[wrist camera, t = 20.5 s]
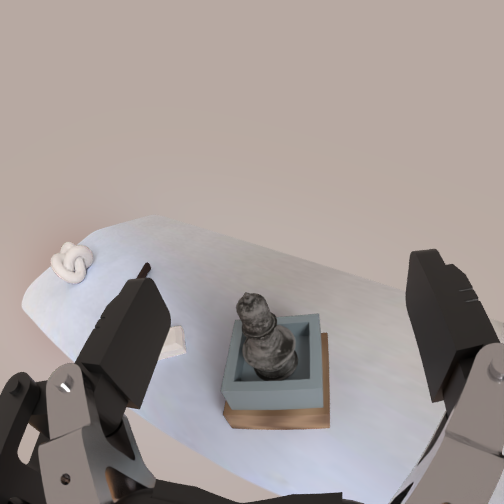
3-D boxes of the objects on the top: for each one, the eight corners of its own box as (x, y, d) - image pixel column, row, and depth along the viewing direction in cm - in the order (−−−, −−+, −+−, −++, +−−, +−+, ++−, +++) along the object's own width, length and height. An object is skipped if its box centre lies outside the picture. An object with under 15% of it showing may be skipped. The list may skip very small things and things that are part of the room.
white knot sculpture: (86, 288, 69) (70, 258, 64) (54, 293, 70) (37, 266, 66) (102, 261, 79) (88, 233, 74) (70, 268, 80) (56, 243, 75)
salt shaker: (246, 352, 37) (210, 284, 30) (291, 335, 37) (267, 261, 30) (258, 391, 32) (219, 328, 25) (308, 372, 32) (286, 302, 25)
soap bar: (187, 354, 47) (181, 344, 46) (136, 367, 46) (129, 357, 45) (184, 333, 51) (179, 322, 50) (137, 345, 51) (130, 336, 49)
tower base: (328, 352, 42) (327, 332, 40) (329, 429, 32) (329, 414, 30) (246, 356, 45) (238, 337, 42) (232, 429, 35) (222, 414, 32)
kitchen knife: (148, 269, 70) (145, 262, 69) (152, 268, 70) (148, 261, 69) (116, 326, 55) (111, 319, 54) (119, 326, 55) (114, 319, 54)
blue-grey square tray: (321, 337, 39) (319, 313, 37) (323, 407, 31) (322, 387, 28) (243, 342, 41) (235, 319, 39) (231, 409, 33) (220, 390, 30)
